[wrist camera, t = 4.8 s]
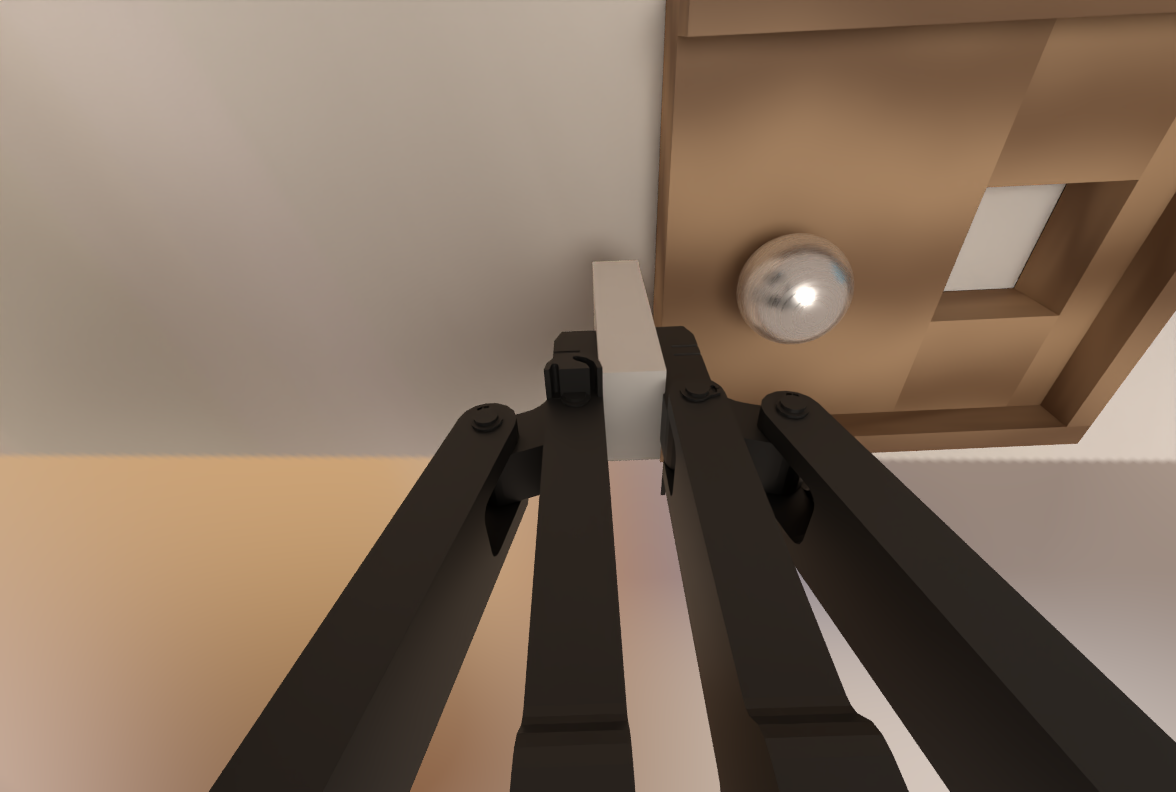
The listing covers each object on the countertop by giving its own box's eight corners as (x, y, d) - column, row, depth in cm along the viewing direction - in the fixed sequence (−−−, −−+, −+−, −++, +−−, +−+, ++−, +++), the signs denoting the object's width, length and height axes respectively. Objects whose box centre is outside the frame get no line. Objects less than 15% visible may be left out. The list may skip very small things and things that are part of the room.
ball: (732, 220, 17) (764, 261, 14) (838, 215, 17) (892, 255, 14) (719, 315, 19) (745, 367, 16) (813, 311, 19) (856, 362, 16)
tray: (666, -7, 15) (690, -14, 12) (1259, -38, 15) (1443, -54, 12) (649, 405, 25) (660, 462, 22) (1012, 388, 25) (1077, 443, 22)
